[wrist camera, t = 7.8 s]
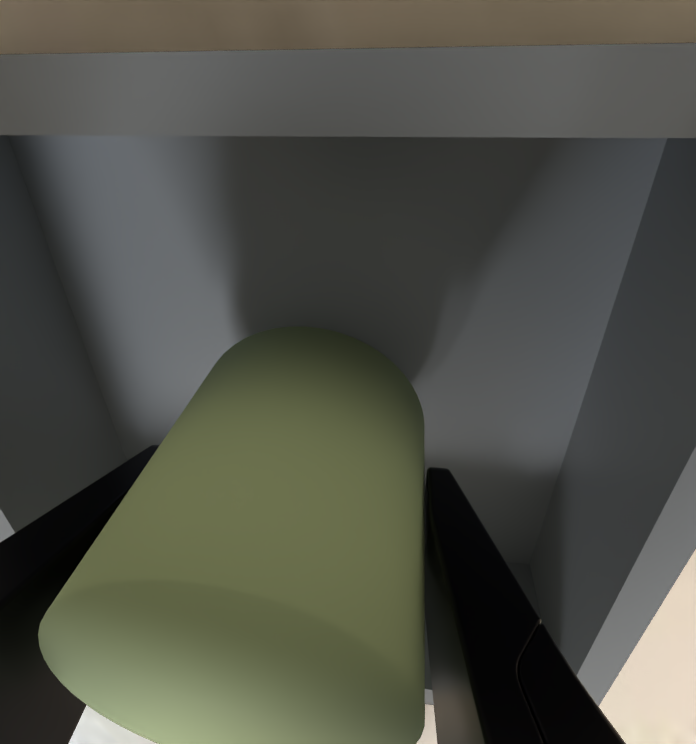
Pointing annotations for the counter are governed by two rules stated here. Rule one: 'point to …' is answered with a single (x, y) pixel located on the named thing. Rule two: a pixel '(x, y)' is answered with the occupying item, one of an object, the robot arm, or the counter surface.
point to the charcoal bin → (377, 280)
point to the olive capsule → (263, 560)
